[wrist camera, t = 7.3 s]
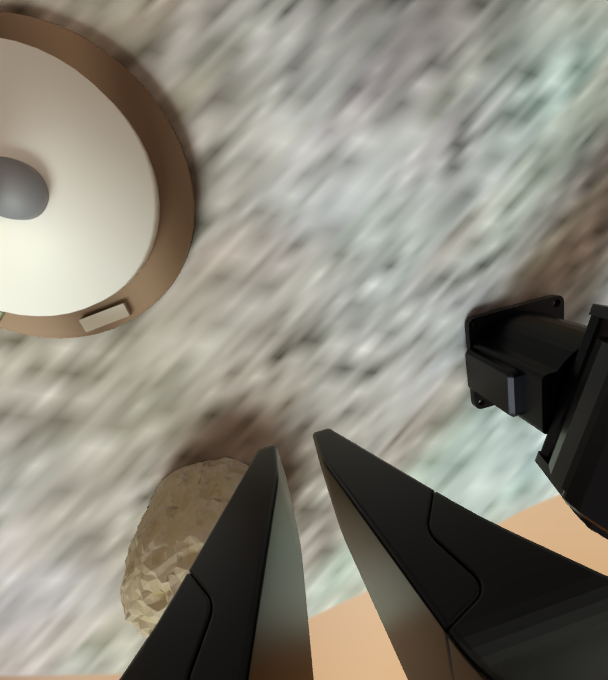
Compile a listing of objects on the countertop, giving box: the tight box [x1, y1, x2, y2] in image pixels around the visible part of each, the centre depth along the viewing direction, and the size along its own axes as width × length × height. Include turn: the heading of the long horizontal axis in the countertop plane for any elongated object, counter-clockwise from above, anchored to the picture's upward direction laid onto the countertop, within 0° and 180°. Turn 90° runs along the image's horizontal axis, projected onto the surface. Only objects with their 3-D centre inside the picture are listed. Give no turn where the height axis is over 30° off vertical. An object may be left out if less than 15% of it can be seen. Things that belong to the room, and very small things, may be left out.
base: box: [0, 12, 195, 338], centre depth 17 cm, size 14×14×1 cm
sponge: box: [121, 457, 249, 638], centre depth 21 cm, size 9×10×10 cm
